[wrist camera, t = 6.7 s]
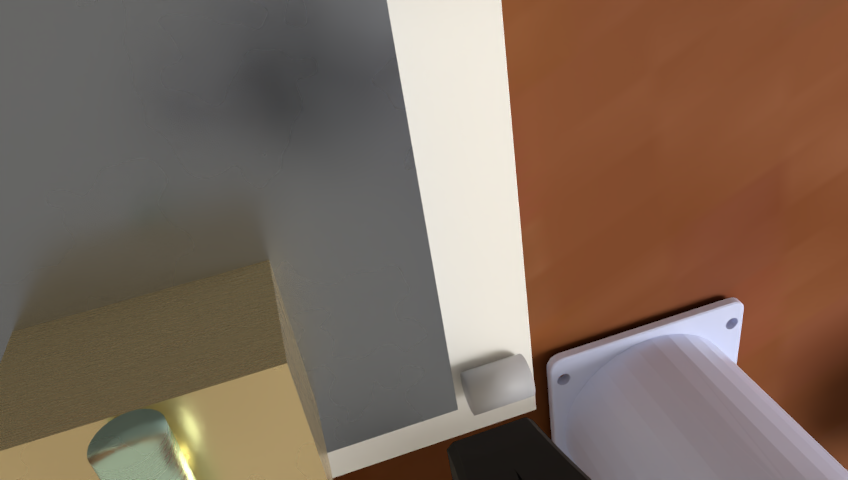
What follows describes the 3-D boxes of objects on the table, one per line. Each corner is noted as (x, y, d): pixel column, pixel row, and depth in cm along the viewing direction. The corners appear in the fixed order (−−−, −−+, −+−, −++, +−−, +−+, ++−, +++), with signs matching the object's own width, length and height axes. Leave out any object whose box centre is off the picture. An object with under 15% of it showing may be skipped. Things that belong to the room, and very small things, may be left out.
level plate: (446, 384, 22) (529, 562, 16) (-9, 531, 20) (-89, 796, 14) (350, -142, 14) (449, -136, 8) (-433, 6, 12) (-992, 143, 6)
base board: (519, 381, 25) (553, 438, 23) (-57, 571, 22) (-89, 661, 19) (449, -302, 14) (500, -332, 12) (-700, -128, 11) (-947, -121, 9)
